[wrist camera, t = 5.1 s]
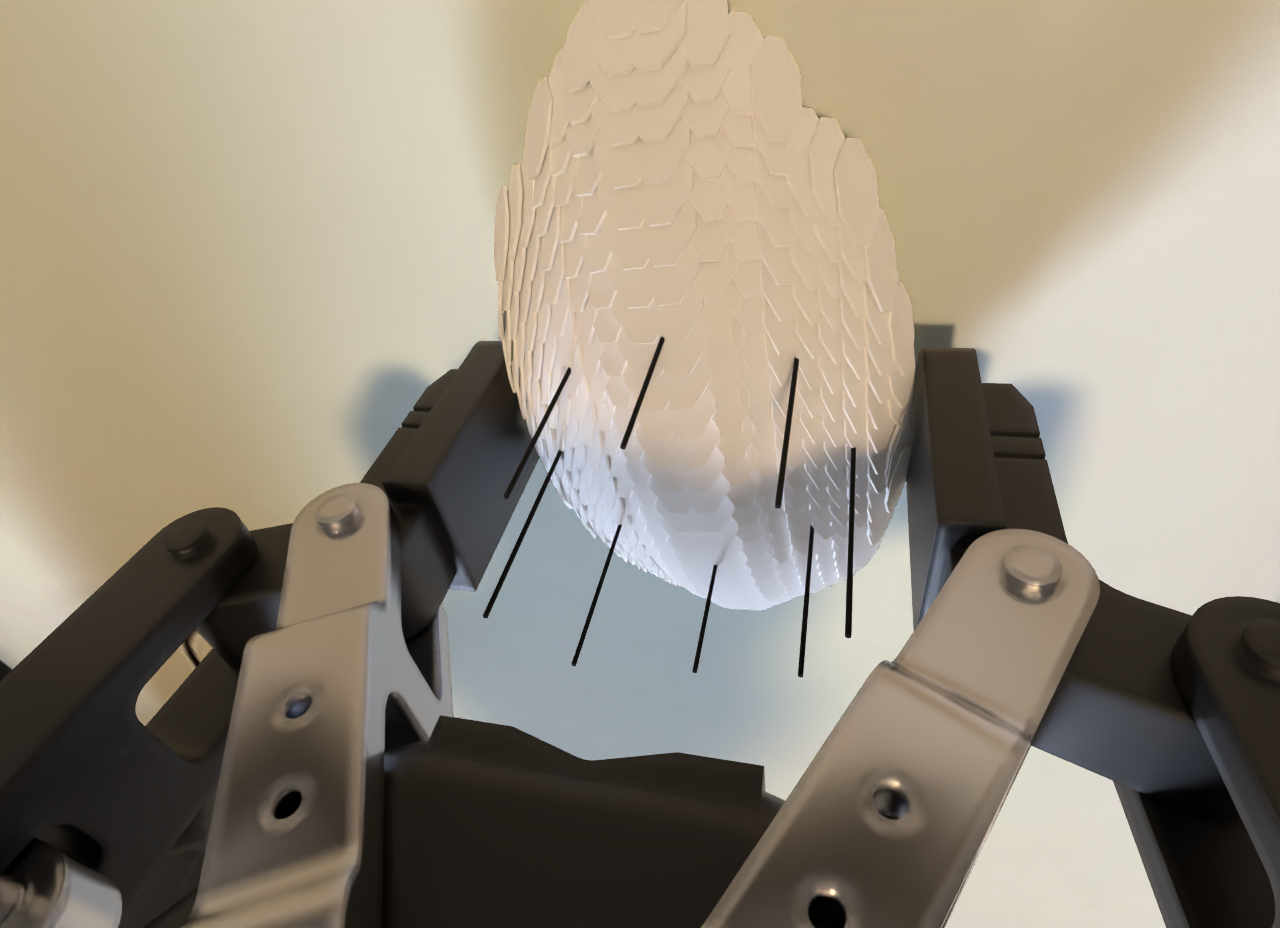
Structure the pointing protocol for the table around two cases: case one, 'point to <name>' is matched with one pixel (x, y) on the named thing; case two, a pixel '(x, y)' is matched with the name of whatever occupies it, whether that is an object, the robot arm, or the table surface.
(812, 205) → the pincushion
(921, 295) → the table surface
